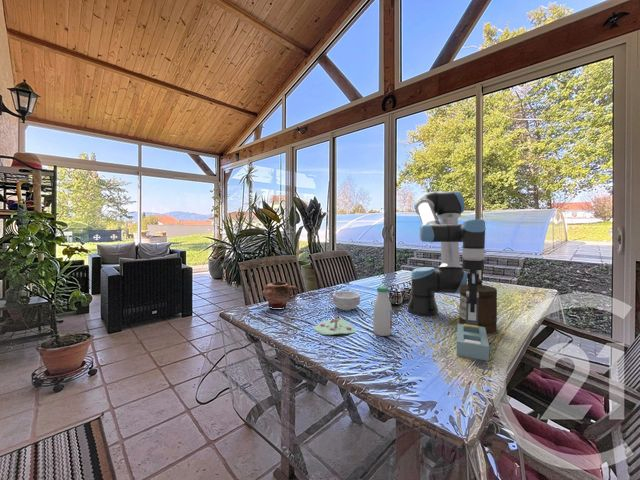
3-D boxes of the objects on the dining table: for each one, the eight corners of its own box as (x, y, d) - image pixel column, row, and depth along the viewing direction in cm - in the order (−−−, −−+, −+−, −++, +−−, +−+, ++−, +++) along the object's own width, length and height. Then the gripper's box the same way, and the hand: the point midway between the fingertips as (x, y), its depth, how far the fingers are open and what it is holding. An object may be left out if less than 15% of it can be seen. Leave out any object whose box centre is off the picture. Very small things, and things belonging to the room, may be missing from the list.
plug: (465, 324, 112) (466, 293, 111) (465, 320, 115) (466, 291, 115) (478, 325, 110) (478, 294, 109) (477, 322, 114) (478, 292, 113)
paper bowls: (361, 312, 152) (361, 297, 151) (333, 312, 152) (332, 297, 152) (358, 304, 167) (358, 290, 166) (332, 304, 167) (332, 290, 167)
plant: (314, 317, 146) (314, 300, 145) (355, 317, 145) (355, 300, 145) (312, 337, 121) (312, 316, 120) (361, 337, 120) (361, 316, 120)
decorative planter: (296, 303, 170) (295, 280, 169) (300, 309, 158) (299, 284, 157) (261, 306, 165) (261, 282, 164) (263, 312, 153) (262, 286, 152)
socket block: (456, 355, 103) (456, 340, 102) (457, 335, 120) (457, 322, 120) (488, 361, 98) (489, 345, 98) (484, 339, 116) (485, 326, 116)
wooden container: (453, 321, 137) (454, 275, 136) (485, 321, 137) (486, 275, 135) (468, 333, 122) (469, 282, 121) (503, 333, 122) (505, 282, 120)
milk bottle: (388, 338, 118) (388, 290, 117) (370, 334, 122) (370, 288, 121) (394, 331, 125) (394, 286, 123) (377, 328, 129) (377, 284, 127)
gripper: (486, 262, 102) (484, 326, 103) (482, 257, 117) (481, 313, 119) (462, 261, 105) (461, 323, 107) (462, 256, 120) (461, 310, 122)
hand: (471, 318), depth 113 cm, fingers closed on plug, 4 cm apart
